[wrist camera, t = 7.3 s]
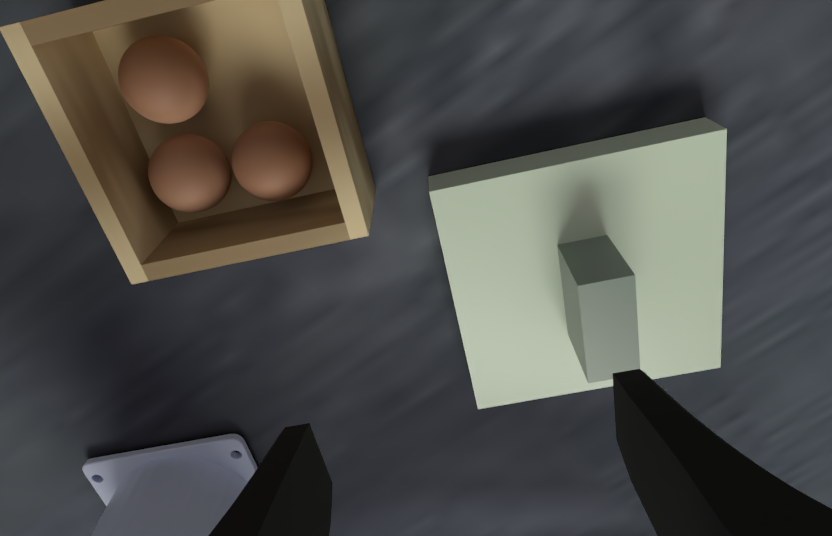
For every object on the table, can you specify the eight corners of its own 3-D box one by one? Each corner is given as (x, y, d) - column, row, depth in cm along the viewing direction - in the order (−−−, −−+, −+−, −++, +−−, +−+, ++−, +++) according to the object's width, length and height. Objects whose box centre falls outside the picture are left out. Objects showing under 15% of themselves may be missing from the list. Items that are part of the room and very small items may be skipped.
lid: (703, 344, 25) (758, 418, 21) (474, 385, 26) (485, 463, 22) (705, 117, 21) (776, 156, 17) (427, 176, 22) (431, 227, 18)
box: (375, 190, 22) (368, 235, 18) (175, 233, 23) (131, 284, 19) (311, -47, 18) (287, -47, 15) (75, 14, 19) (-2, 27, 16)
